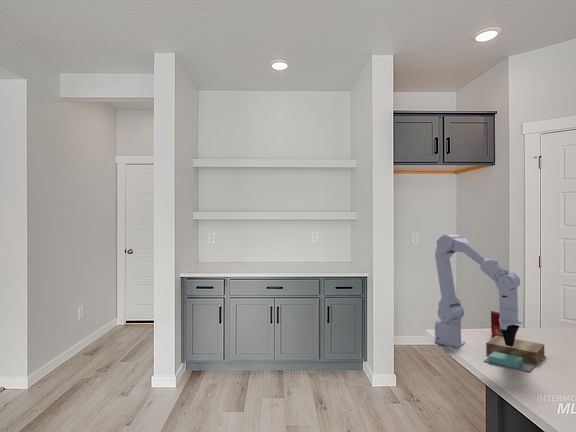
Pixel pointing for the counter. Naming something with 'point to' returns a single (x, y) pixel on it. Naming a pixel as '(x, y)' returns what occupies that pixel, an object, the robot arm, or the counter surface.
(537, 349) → the board
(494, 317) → the canned food
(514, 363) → the teal rectangular block
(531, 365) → the mat
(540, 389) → the counter surface
